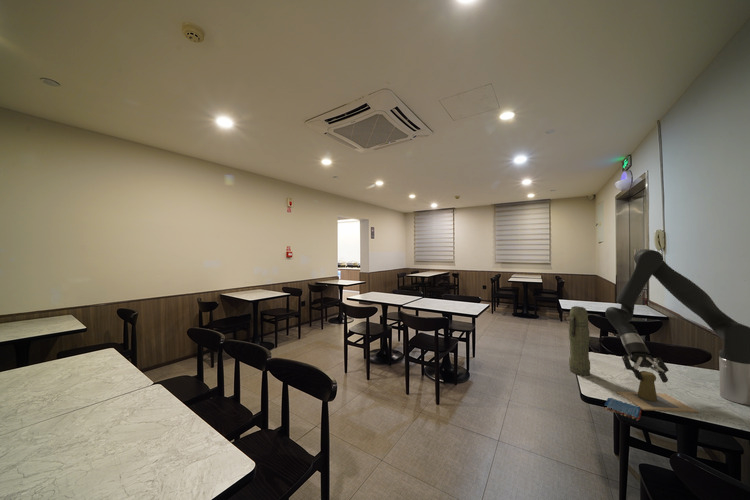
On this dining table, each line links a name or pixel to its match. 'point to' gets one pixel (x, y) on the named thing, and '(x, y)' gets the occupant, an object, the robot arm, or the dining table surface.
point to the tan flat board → (657, 402)
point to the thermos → (579, 341)
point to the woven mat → (623, 408)
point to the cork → (647, 386)
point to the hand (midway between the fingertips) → (653, 380)
